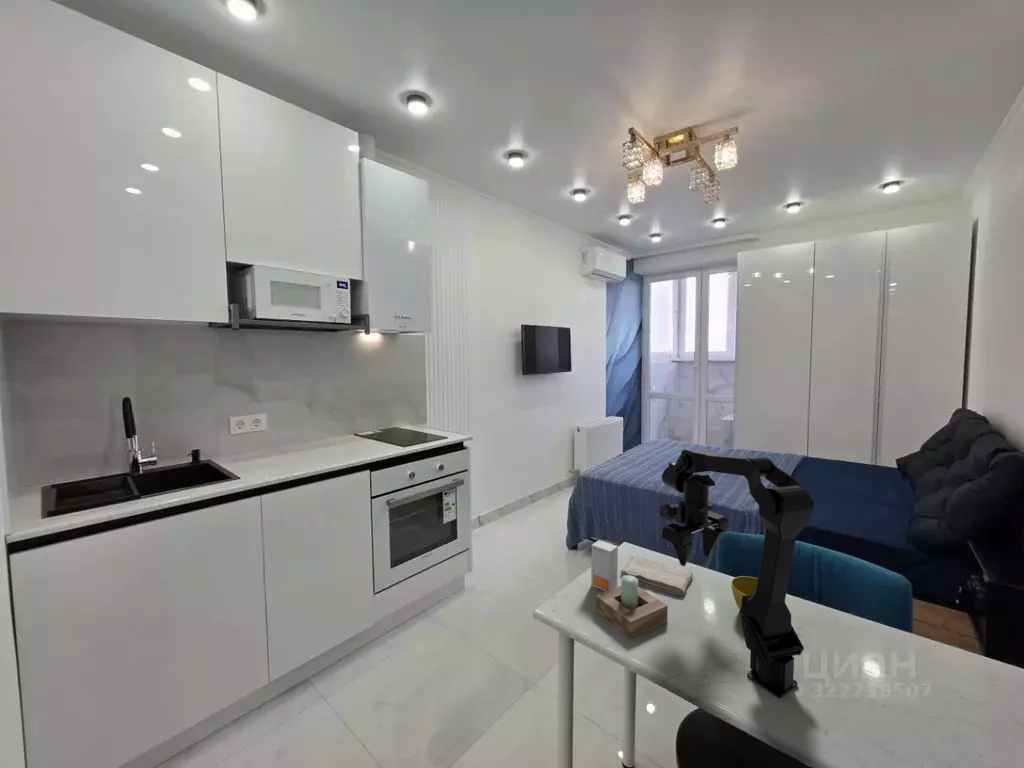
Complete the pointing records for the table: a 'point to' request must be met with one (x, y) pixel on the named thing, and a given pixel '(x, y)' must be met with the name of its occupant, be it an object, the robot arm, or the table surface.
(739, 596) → the yellow bowl
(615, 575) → the skincare box
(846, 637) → the table surface
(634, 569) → the washcloth
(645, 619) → the walnut socket
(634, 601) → the sage peg
